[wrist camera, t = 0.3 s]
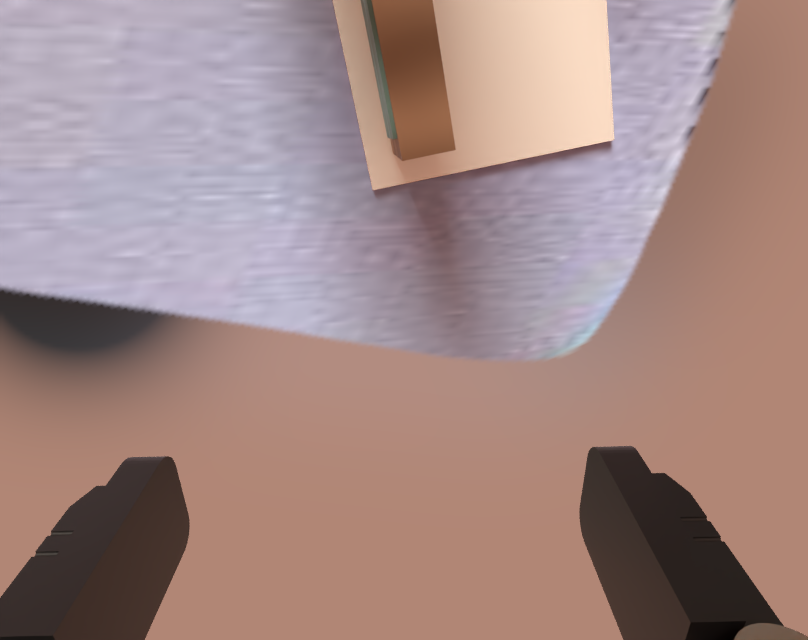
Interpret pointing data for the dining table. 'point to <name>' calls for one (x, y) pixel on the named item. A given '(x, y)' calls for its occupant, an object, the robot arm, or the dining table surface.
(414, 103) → the plaque
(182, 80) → the dining table surface
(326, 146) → the dining table surface
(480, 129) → the placemat
